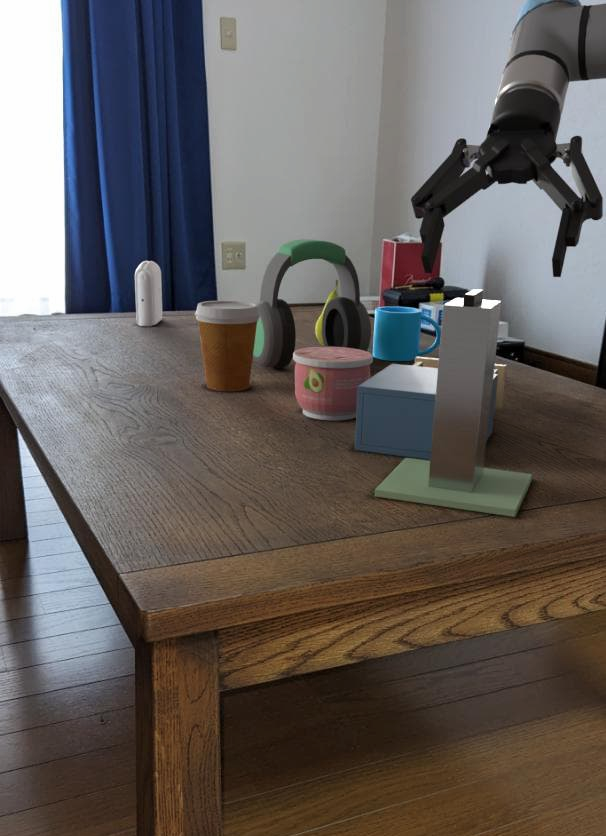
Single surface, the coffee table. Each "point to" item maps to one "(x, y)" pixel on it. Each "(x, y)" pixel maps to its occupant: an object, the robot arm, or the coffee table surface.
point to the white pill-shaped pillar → (148, 294)
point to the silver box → (463, 391)
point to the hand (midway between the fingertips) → (489, 267)
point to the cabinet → (401, 411)
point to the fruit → (319, 323)
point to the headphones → (341, 315)
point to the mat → (489, 496)
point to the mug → (400, 333)
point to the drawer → (498, 370)
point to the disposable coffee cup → (227, 342)
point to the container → (330, 380)
